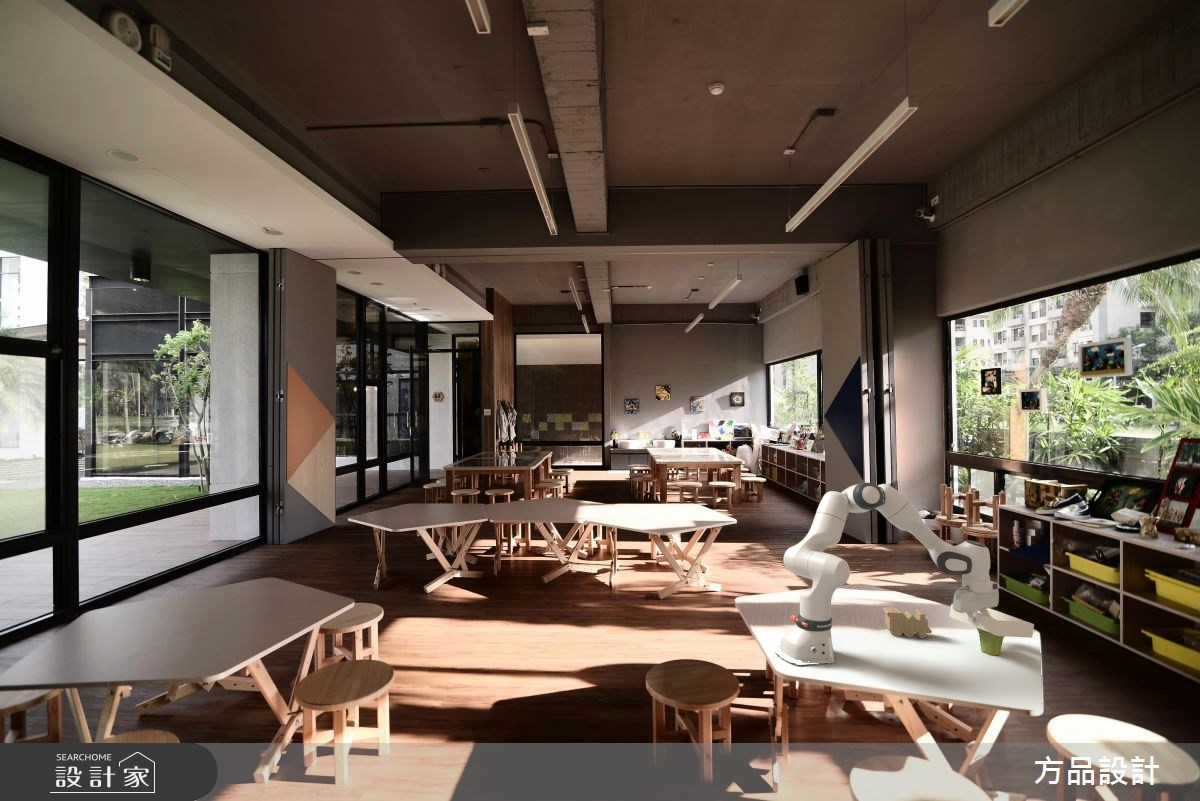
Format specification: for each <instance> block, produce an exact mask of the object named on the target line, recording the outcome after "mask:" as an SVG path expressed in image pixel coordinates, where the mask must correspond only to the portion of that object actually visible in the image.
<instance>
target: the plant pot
mask: <svg viewBox="0 0 1200 801" xmlns="http://www.w3.org/2000/svg"><path fill="white" fill-rule="evenodd" d="M976 629H977V632H978V636H979V642H980V643H979V645H980V650H981V652H982V653H983V652H984V653H985V654H987V655H990V656H1000V655H1001V652H1002V645H1003V641H1004V638H1005V636H997V635H994V634H992V633H989V632H987V631H984V630H982V629H979V628H977V627H976Z"/></svg>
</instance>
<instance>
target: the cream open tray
mask: <svg viewBox="0 0 1200 801" xmlns="http://www.w3.org/2000/svg"><path fill="white" fill-rule="evenodd" d="M949 610H950V612H949V617H950V618H952V619H954V620H957V621H959V622H962V623H965V624H967V625H969V626H972V627H974V628H976V629H977V628H979V629H982V630H984V631H987V632H989V633H992V634H994V635H997V636H1004V637H1009V638H1010V637H1012V638H1014V637H1015V638H1033V634H1034V627H1035V624H1034V623H1031V622H1029V621H1025V620H1023V619H1020V618H1017V617H1015V616H1012V615H1009V614H1006V613H1003V612H1001V611H999V610H995V609H993V608H986V609H985V612H984V614H983V615H982V614H980V613H977V612H978V610H976V611H974V613H973V616H974V617H975V622H970V621H969V620H968V615H967V613H960V612H957V611H955V610H954V609H953V603H951V604H950V609H949Z"/></svg>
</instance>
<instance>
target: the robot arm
mask: <svg viewBox="0 0 1200 801" xmlns="http://www.w3.org/2000/svg"><path fill="white" fill-rule="evenodd" d="M872 510H877V511H878V512H879V513H880V514H881V515H882V516H883V517H884V518H885V519H886V520H887V521H888V522H889V523H890V524H892V525H893V526H894V527H896V528H897V529H899V530H900V531H904V532H908V533H909V534H911V535H913V536H914V537H915V538H916V539H917V540H918V542H920V543H921V544H922V545H923V546H924V547H925V548H926V549H927V551H928V554H929V556H930V559H931V560H932V561H933V563H935V565H936V567H937V569H938V570H940V571H941V572H942V573H943V574H946V575H949V576H961V586H959V587H958V588H957V589H956V590H955V592H954V593H953V601H952V604H953V609H954V610H955V611H957V612H960V613H967V615H968V620H969V621H970V622H975V617H974V616H973V613H974V611H976V610H978V612H977V613H980V614H982V615H983V614H984V612H985V609H986V608H990V609H993V608H995V607H996V608H997V607H998V605H999V601H1000V600H999V598H1000V595H999V594H1000V592H999V589H1000V584H999V583H998V582H995V581H992V580H991V576H990V569H991V555H990V550H989V548H988V547H987V545H985V544H983V543H982V542H979V541H975V540H964V541H963V542H961V543H960V544H957V545H954V544H953V543H951V542H950V541H947V540H944V539H943V538H940V537H939V536H938V535H937V534H936V533H935V532H933V530H932V529H931V528H929V527H928V526H927V525H926V524H925V522H924V521H923V519H922V517H921V514H920V512H919V511H918V509H917V508H916V507H915V506H914V504H913V503H912V502H911V501H910V500H909V499H908V498H907V497H906V496H905V495H903V494H902V493H901V492H900V491H898V490H897V489H896V488H894V487H893V486H892V485H890V484H887V483H881V484H878V485H876V484H874V483H871V482H867V481H866V482H860V483H857V484H853V485H850V486H848V487H847V488H844V489H843V490H842V491H841V492H839V491H836V490H835V491H834V490H833V491H831V490H829V491H828V492H826V493H825V494H824V495H823V496H822V498H821V501H820V502H819V504H818V507H817V509H816V511H815V512H816V513H815V515H814V518H813V521H812V524H811V526H810V528H809V531H808V533H807V534H806V535H805V536H804V537H803V539H802V540H801V541H800V542H798V543H797V544H795V545H793V546H790V547H789V548H787V549H786V550H785V552H784V555H783V560H782V561H783V565H784V567H785V569H786V570H787V571H789V572H790V573H792V574H794V575H797V576H799V577H801V578H806V579H809V580H811V581H812V585H811V587H807V588H806V589H804V590H802V592H801V593H800V594H799V595H800V596H799V613H798V615H797V616H795V615H793V614H792V615H791V616H790V621H792V622H794V625H793V626H792V627H791V628H790V629H789V630H788V631H787V632H785V633H784V634H783V635H782V636H781V640H780V645H779V646H777V647H780V651H781V652H782V653H784V654H785V655H786V656H788V657H789V658H791V659H792V658H793V659H795V660H801V661H802V662H803V663H828V664H834V663H835V660H834V658H835V657H836V653H835V650H834V646H833V641H832V640H833V638H832V627H833V623H832V622H833V621H832V620H833V618H832V616H831V613H832V612H831V611H832V610H831V609H832V599H833V595H834V593H835V592H836V590H837V589H838V588H839V587H841V586H843V585H845V584H846V583H847V582H848V581H849V578H850V576H851V575H850V574H851V568H850V566H849V564H848V562H847V561H846V560H845V559H843V558H842V557H839V556H837V555H835V554H831V553H827V552H824V551H825V550H826V549H827V548H829V547H832V546H835V545H837V544H838V543H839V542H840V540H841V538H842V533H843V531H844V528H845V525H846V520H847V517H848V515H849V514H850V515H857V514H862V513H863V514H864V513H867V512H869V511H872ZM808 661H809V662H808ZM833 662H834V663H833Z"/></svg>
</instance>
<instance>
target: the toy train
mask: <svg viewBox="0 0 1200 801" xmlns="http://www.w3.org/2000/svg"><path fill="white" fill-rule="evenodd" d="M882 611H883V612H884V614H885V617H884V620H885V621H884V622H885V623H884V624H885V626H886V627H887V630H888V631H889V632H890V633H891V635H892V636H894V637H896V638H899V637H901V636H902V635H903V634H904V635H905V636H906V637H907V638H912V637H914V635H915V634H916V635H917V636H918V637H919V638H921V639H925V638H926V637H927V635H928V634H932V632H933V630H932V629H931V628H930V627H929V620H928V619H927V618H926V614H925V612H924V611H923V610H922V609H919V608H916V609H914V614H912V613H911V612H910V611H908V610H905V612H904V613H903V612H902V611H901V610H900V609H899V608H898V607H885V606H884V607H883V608H882Z"/></svg>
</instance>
